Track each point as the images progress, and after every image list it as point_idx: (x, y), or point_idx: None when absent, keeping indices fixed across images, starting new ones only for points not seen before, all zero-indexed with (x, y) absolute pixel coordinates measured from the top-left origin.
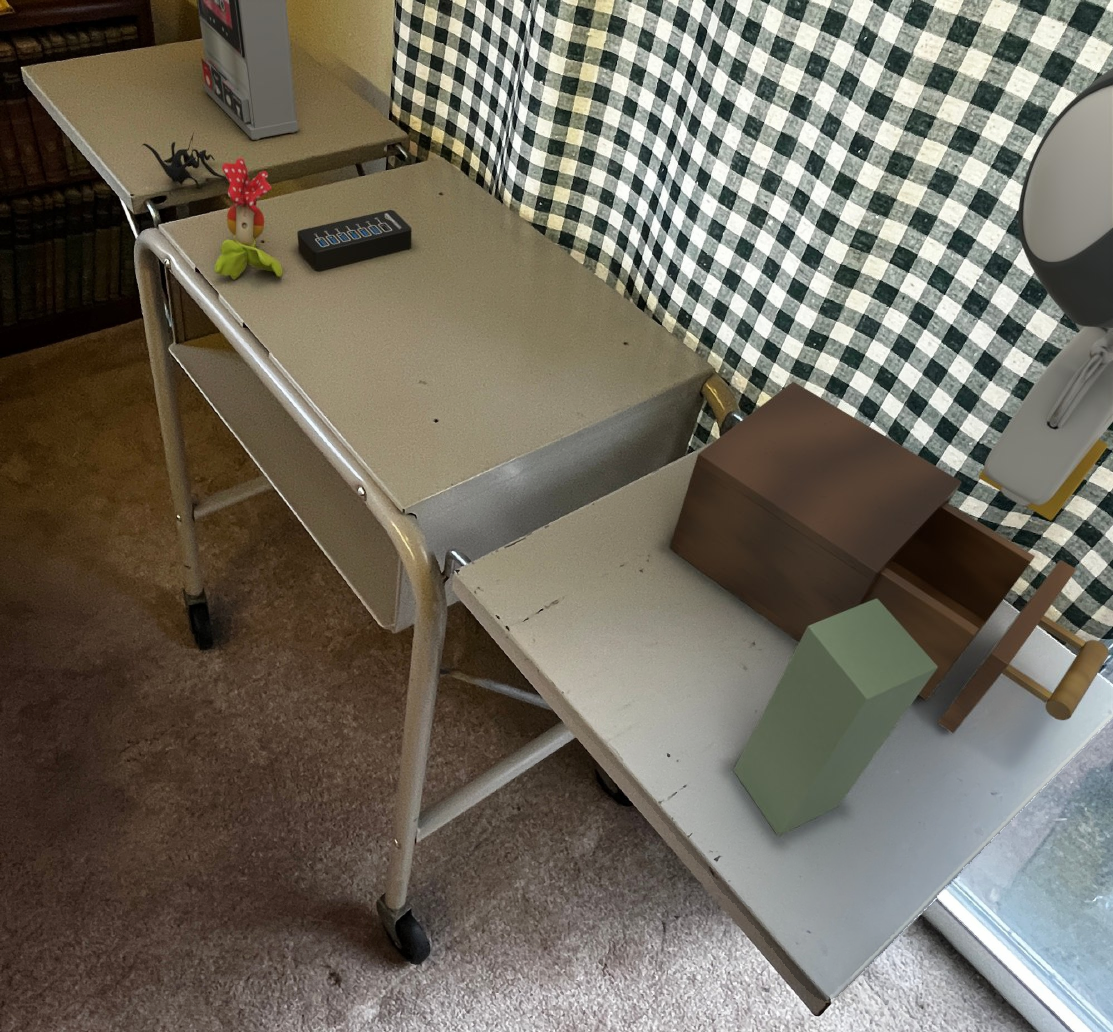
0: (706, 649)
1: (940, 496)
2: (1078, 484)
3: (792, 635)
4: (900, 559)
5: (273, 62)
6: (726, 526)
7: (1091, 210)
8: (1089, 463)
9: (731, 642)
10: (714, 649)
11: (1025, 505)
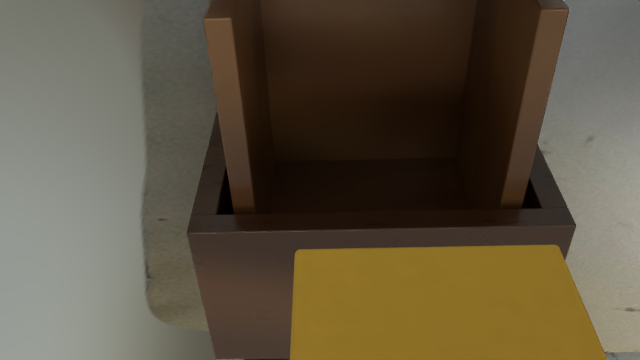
0: (591, 184)
1: (270, 240)
2: (503, 355)
3: None
4: (269, 120)
5: None
6: None
7: None
8: None
9: (558, 171)
10: (584, 178)
11: (638, 352)
